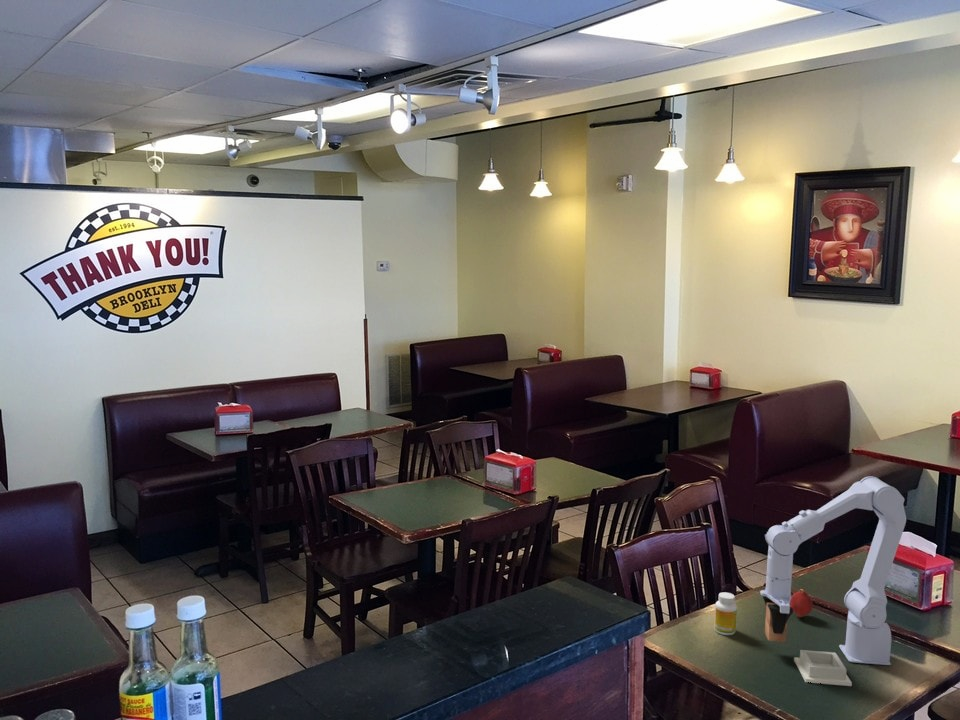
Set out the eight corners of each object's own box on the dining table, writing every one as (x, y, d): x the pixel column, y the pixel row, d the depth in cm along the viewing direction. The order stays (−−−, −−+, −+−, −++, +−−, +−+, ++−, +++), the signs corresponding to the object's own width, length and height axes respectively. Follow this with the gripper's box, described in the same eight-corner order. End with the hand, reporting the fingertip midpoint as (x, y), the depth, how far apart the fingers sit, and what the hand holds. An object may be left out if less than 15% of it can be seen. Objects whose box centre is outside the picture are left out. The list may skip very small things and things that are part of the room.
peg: (781, 634, 191) (783, 603, 190) (785, 641, 187) (787, 610, 186) (764, 632, 192) (766, 602, 191) (768, 640, 188) (770, 609, 187)
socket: (837, 663, 185) (838, 650, 185) (851, 686, 175) (852, 672, 175) (794, 660, 187) (794, 647, 186) (805, 682, 177) (806, 668, 176)
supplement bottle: (736, 636, 198) (738, 600, 197) (714, 634, 199) (717, 598, 198) (734, 627, 203) (736, 592, 202) (713, 625, 204) (715, 590, 203)
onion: (791, 610, 214) (793, 582, 213) (813, 616, 211) (816, 588, 210) (786, 617, 209) (788, 589, 208) (808, 623, 206) (810, 595, 205)
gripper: (755, 563, 195) (752, 614, 197) (768, 586, 181) (765, 641, 183) (784, 565, 194) (781, 616, 196) (800, 588, 180) (796, 643, 182)
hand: (775, 628), depth 189 cm, fingers closed on peg, 4 cm apart
